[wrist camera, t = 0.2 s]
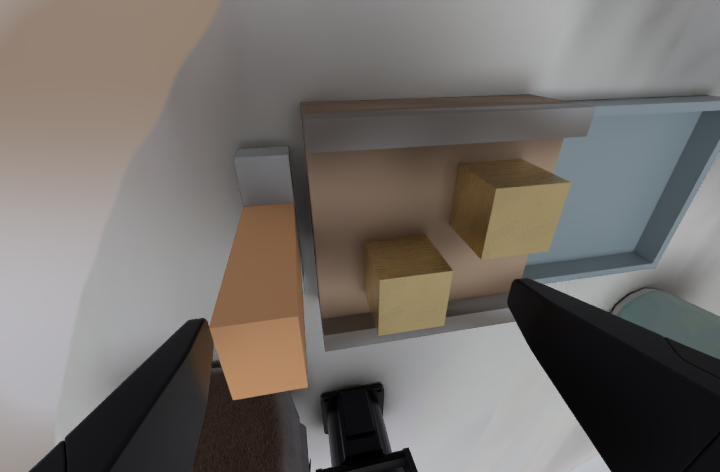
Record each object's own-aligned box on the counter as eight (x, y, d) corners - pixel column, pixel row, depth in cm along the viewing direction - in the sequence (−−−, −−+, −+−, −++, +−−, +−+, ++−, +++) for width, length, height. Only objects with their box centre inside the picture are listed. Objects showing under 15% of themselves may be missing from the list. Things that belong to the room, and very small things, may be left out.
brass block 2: (506, 219, 21) (548, 251, 18) (449, 224, 20) (481, 259, 17) (521, 158, 19) (571, 182, 16) (458, 163, 18) (496, 188, 15)
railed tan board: (486, 276, 29) (525, 319, 24) (318, 298, 27) (325, 351, 22) (529, 94, 21) (596, 107, 17) (300, 102, 19) (304, 119, 14)
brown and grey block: (303, 274, 25) (313, 428, 15) (263, 279, 25) (246, 441, 14) (288, 145, 20) (288, 244, 10) (238, 148, 20) (184, 254, 10)
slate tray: (630, 253, 31) (655, 268, 29) (476, 273, 28) (491, 291, 26) (707, 95, 24) (747, 99, 22) (512, 103, 22) (536, 108, 19)
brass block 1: (420, 283, 22) (444, 325, 19) (364, 291, 22) (378, 335, 18) (425, 234, 20) (453, 270, 17) (364, 240, 20) (379, 280, 16)
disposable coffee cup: (607, 280, 32) (814, 429, 20) (698, 261, 34) (948, 389, 21) (579, 351, 38) (727, 504, 25) (658, 332, 39) (837, 469, 26)
